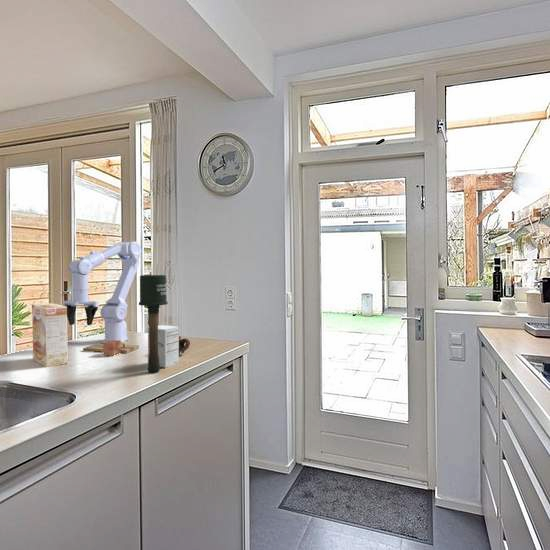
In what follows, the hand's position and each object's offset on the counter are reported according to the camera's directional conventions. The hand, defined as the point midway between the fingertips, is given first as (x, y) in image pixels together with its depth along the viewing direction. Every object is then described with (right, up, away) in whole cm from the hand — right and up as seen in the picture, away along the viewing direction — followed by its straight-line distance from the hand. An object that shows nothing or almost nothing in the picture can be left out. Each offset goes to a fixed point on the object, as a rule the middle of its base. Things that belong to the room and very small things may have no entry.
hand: (80, 324), depth 162 cm
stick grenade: (+39, -11, -34) cm, 53 cm away
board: (+13, -10, -2) cm, 16 cm away
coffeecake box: (-1, -10, -21) cm, 23 cm away
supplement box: (+39, -11, -25) cm, 48 cm away
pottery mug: (+39, -10, -10) cm, 42 cm away
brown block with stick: (+17, -10, -7) cm, 21 cm away
